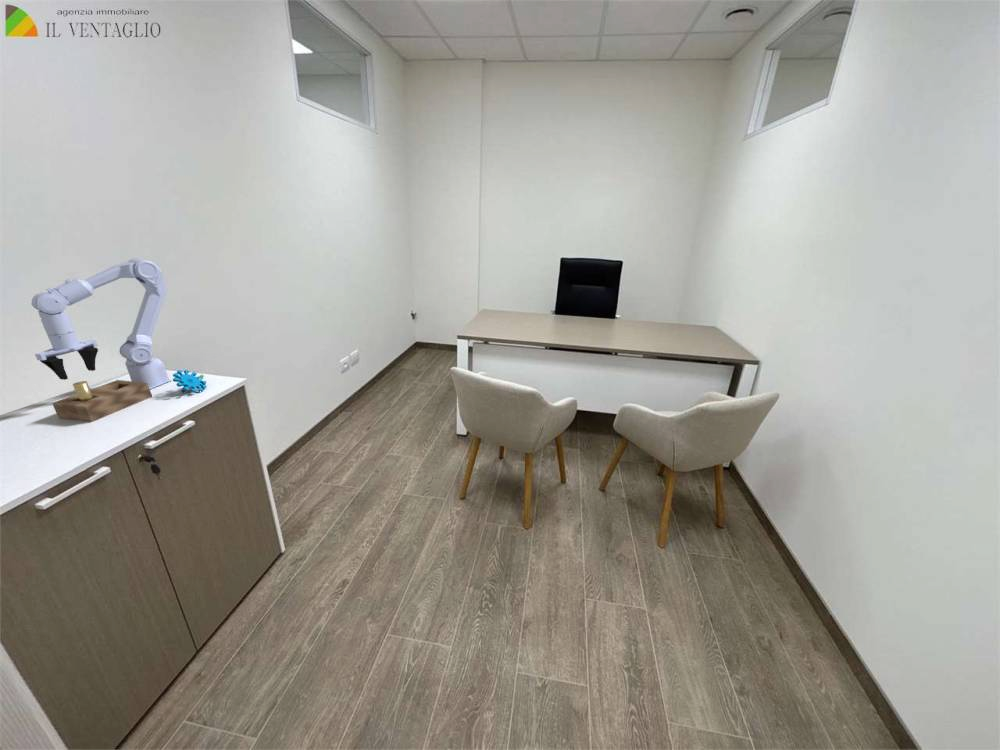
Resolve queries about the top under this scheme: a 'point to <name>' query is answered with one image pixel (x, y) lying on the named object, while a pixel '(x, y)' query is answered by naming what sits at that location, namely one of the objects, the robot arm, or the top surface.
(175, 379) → the gear
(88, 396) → the peg
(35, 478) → the top surface
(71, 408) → the hole block
